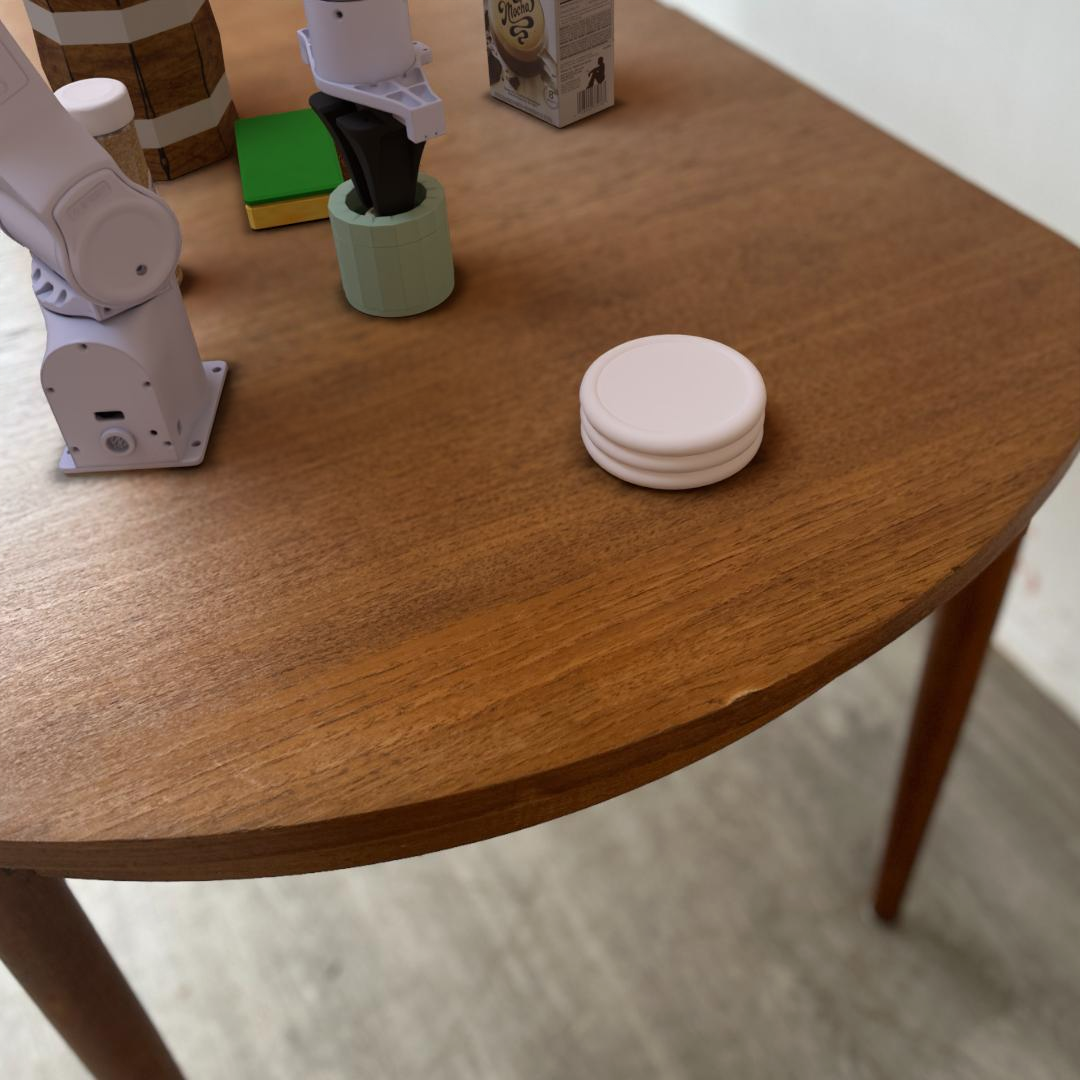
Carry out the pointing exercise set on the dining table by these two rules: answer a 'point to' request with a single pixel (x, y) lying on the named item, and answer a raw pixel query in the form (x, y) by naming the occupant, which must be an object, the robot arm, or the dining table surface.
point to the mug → (147, 71)
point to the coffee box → (551, 56)
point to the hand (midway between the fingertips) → (388, 209)
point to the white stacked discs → (672, 411)
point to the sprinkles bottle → (110, 125)
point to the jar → (393, 252)
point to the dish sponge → (286, 167)
